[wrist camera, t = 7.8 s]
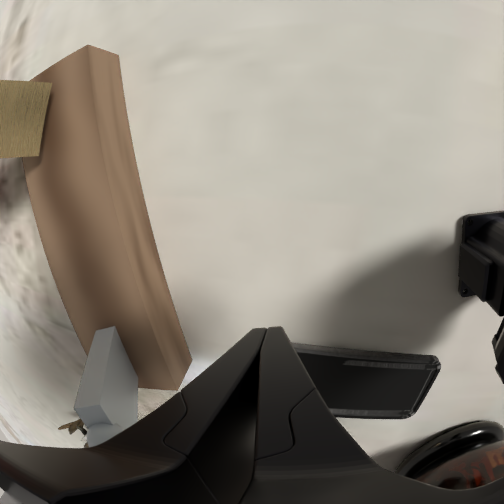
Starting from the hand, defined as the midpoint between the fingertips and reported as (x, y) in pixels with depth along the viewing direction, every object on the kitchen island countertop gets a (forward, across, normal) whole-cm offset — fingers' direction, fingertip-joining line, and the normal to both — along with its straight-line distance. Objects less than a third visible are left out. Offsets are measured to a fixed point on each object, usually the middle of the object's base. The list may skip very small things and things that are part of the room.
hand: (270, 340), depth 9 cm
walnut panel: (+13, +14, -2) cm, 19 cm away
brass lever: (+9, +14, -11) cm, 20 cm away
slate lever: (+9, +14, +7) cm, 18 cm away
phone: (+14, -4, +15) cm, 21 cm away
